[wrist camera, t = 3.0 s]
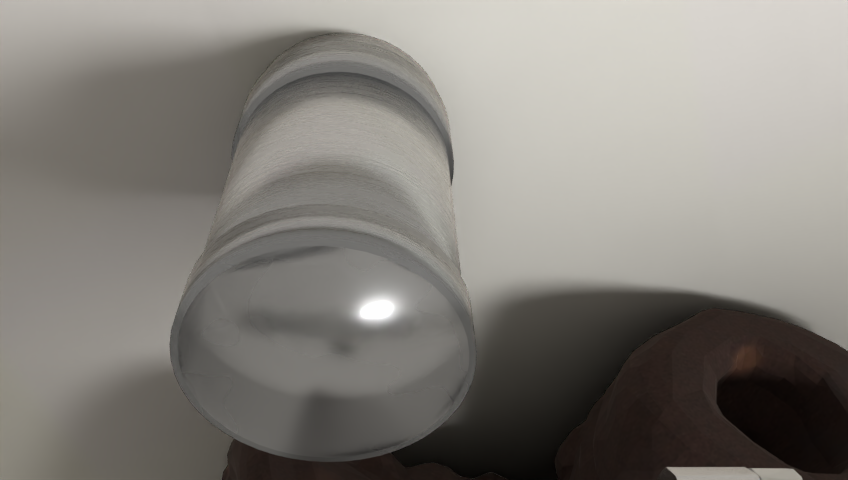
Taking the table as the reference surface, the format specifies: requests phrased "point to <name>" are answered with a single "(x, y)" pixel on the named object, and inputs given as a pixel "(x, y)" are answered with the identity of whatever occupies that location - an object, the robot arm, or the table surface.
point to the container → (331, 263)
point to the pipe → (671, 411)
